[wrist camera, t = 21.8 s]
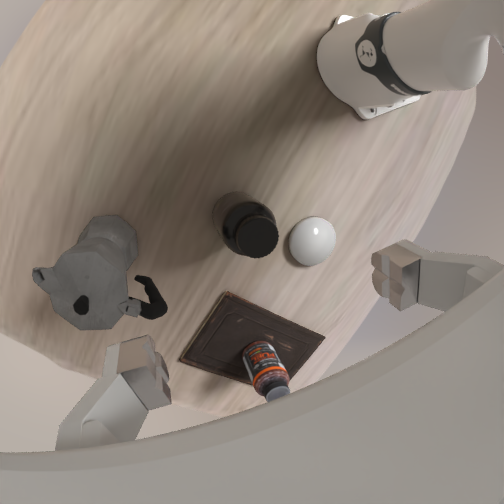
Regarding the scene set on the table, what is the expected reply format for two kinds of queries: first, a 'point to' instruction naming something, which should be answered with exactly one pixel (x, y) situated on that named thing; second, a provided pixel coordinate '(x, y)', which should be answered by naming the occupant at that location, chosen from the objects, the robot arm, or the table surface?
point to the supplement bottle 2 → (266, 370)
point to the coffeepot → (99, 278)
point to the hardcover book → (247, 339)
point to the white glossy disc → (312, 240)
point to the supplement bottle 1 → (245, 225)
